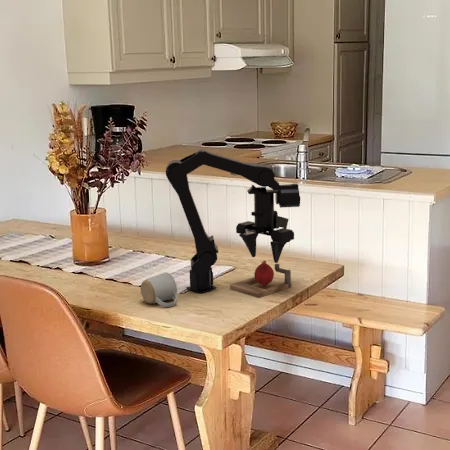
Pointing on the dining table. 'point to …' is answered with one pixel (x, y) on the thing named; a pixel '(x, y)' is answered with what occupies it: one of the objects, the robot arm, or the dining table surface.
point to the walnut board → (259, 292)
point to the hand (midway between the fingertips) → (264, 259)
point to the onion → (264, 274)
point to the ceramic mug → (159, 289)
